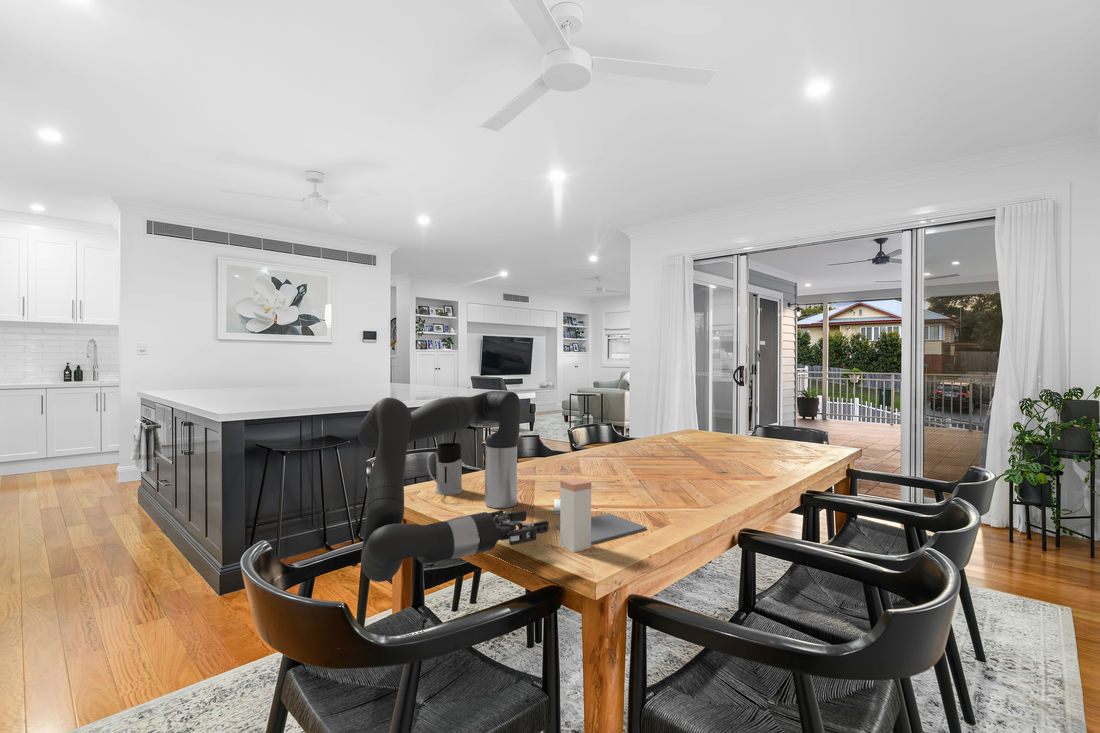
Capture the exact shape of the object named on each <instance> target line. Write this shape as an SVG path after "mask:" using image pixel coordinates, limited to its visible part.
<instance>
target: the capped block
mask: <svg viewBox="0 0 1100 733" xmlns="http://www.w3.org/2000/svg"><path fill="white" fill-rule="evenodd" d="M559 489H560V491H559V495H560V496H559V497H560V498H559V499H560V515H559V518H560V519H559V523H560V524H559V525H560V529H559V530H560V531H559V546H561V548H564V549H565V550H568V551H570V552H571V553H577V552H581V551H585V550H589V549H591V548H592V544H591V517H592V481H590V480H587V479H582V478H580V477H574V478H569V479H563V480H560V488H559Z"/></svg>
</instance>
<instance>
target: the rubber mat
mask: <svg viewBox="0 0 1100 733" xmlns="http://www.w3.org/2000/svg"><path fill="white" fill-rule="evenodd" d="M555 528H556V529H558V530H560V524H557V525H555ZM647 528H648V527H647V526H645V525H642V524H639V523H637V522H634V521H632V520H628V519H626V518H623V517H621V516H618V515H615V514H612V513H610V512H608V513H604V514H600V515H594V516H591V545H593V544H599V543H602V542H606V541H608V540H612V539H616V538H621V537H624V536H627V535H631V534H635V533H639V532H642V531H646V530H647Z"/></svg>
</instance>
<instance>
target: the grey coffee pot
mask: <svg viewBox="0 0 1100 733" xmlns="http://www.w3.org/2000/svg"><path fill="white" fill-rule="evenodd" d="M436 447H437V452H434V451H433V452H432V451H431V452H430V453H428V454H427V458H426V468H427V471H428V472H427V473H428V474H429V477H430V478H431V479H432V480H433V481H434V482H435V483H436V489H435V491H434V493H436V494H437V495H441V496H442V495H443V496H449V495H451V496H452V495H458V494H462V493H463V491H464V489H463V487H462V484H463V483H462V464H463V463H462V462H463V461H462V457H463V456H462V444H461V443H458V442H444V443H439V444H437V446H436ZM433 454H434V456H435V461H436V462H435V463H436V478H435V477H434V476H433V474H432V472H431V468H430V458H431V456H432V455H433Z"/></svg>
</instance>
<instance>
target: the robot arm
mask: <svg viewBox="0 0 1100 733" xmlns="http://www.w3.org/2000/svg"><path fill="white" fill-rule="evenodd" d="M520 421H521V401H520V398H519V396H518V394H517V393H516V392H514V391H506V390H504V391H503V390H489V391H486V392H483V393H480V394H476V395H473V396H451V397H450V396H449V397H443V398H437V399H435V400H433V401H430V402H428V403H426V404H424V405H422V406H420V407H418V408H417V409H415V410H412V411H411V410H410V409H409V407H408V406H407V405H406V404H405V403H404V402H403V401H401V400H400V399H398V398H394V397H383V398H381V399H380V400H378V401H377V402H375V404H374V405H373V406H372V407H371V409H370V410H369V411H368V412H367V414H366V415H365V416H364V418H363V419H362V421H361V422H360V424H359V427H358V429H357V437H358V441H359V442H360V444H361V445H362V446H363V447H365V448H367V449H369V450H371V451H375V452H376V454H375V458H374V462H373V465H372V468H371V472H370V475H369V478H368V483H367V489H366V501H365V503H366V504H365V529H364V533H363V540H362V547H361V554H360V557H361V558H360V564H361V569H362V570H361V571H362V572H363V574H364V575H365V577H366V578H368V579H369V580H371V581H372V582H375V583H382V582H387V581H388V580H390V579H392V578H393V577H395V575H396V574H397V573H398V571H399V570H400V569H401V566H402V563H403V562H404V560H406V559H410V558H416V560H417V561H418V562H420V563H421V564H433V563H437V562H442V561H445V560H450V559H451V560H452V559H458V558H464V557H468V556H473V555H478V554H481V553H485V552H490V551H492V550H493V549H494V548H495V546H496V545H497V543H498V541H504V542H505V541H509V543H508V544H509V546H515V545H519V544H524V543H530V542H534V541H537V538H538V537H537V535H538V534H539V535H540V534H542V533H548V531H549V529H550V528H549V527H550V526H549V521H548V520H545V519H544V520H540V521H537V522H532V523H530V522H529V523H524V522H526V520H527V511H525V510H518V511H517V510H516V511H513V512H510V511H505V512H504V510H502V509H504V508H505V509H506V508H507V509H508V508H512V507H514V506H516V505H517V504H518V439H519V437H520V436H519V435H520V425H521V422H520ZM476 422H492V423H498V424H499V425H498V429H497V431H496V432H494V433H491V434H487V436H486V437H485V470H484V502H485V505H486V507H489V508H493V509H501V510H496V511H491V512H487V511H484V512H478V513H472V514H467V515H462V516H458V517H453V518H450V519H447V520H444V521H439V522H433V523H429V524H417V523H416V524H415V523H414V524H413V523H403V520H404V516H405V487H404V486H405V467H406V461H407V460H406V458H407V451H408V444H410V443H413V442H417V441H420V440H425V439H426V440H427V439H429V438H433V437H438V436H443V435H449V434H453V433H457V432H461V431H464V430H466V429H467V428H469V426H470V425H472V424H471V423H476ZM517 527H518V528H517Z"/></svg>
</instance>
